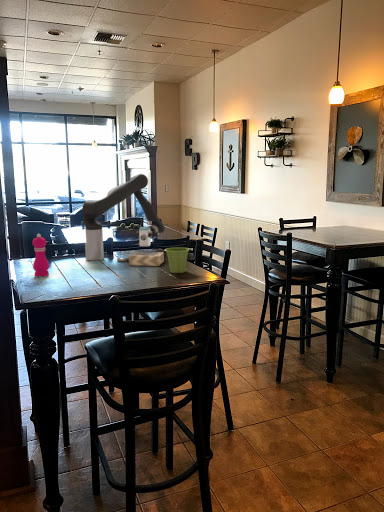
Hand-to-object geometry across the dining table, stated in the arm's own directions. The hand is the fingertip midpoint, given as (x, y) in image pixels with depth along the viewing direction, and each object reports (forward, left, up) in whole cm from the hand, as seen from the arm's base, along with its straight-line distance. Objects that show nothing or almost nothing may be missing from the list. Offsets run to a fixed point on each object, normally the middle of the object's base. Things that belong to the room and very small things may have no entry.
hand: (143, 235), depth 233 cm
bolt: (-10, -9, -14) cm, 19 cm away
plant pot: (+24, -31, -14) cm, 42 cm away
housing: (0, +3, -6) cm, 7 cm away
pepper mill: (-39, -45, -14) cm, 61 cm away
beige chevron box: (+4, -11, -13) cm, 18 cm away
